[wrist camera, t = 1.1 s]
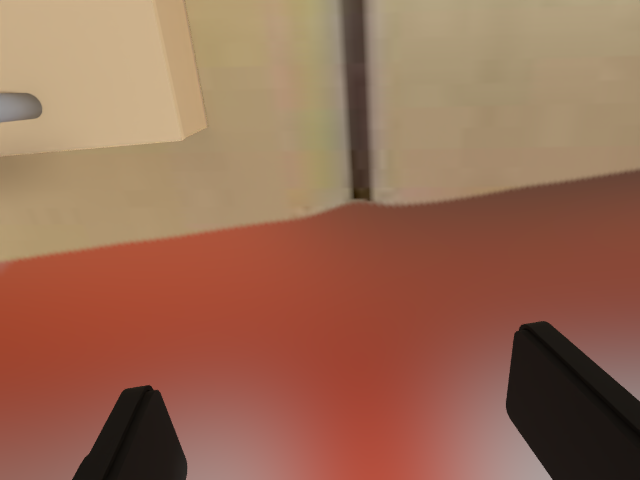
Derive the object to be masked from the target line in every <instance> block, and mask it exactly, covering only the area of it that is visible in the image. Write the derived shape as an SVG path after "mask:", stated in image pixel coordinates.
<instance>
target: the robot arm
mask: <svg viewBox="0 0 640 480" xmlns="http://www.w3.org/2000/svg"><path fill="white" fill-rule="evenodd" d="M506 409H507V413H508V415H509V417H510V419H511V421H512V422H513V424H514V425H515V426H516V428H517V429H518V431H519V432H520V434H521V435H522V437H523V438H524V439H525V441H526V442H527V444H528V445H529V447H530V448H531V449H532V451H533V452H534V454H535V455H536V457H537V458H538V459H539V461H540V462H541V463H542V465H543V466H544V468H545V469H546V471H547V472H548V474H549V475H550V476H551V478H552V479H553V480H640V401H639V400H637V399H636V398H635V397H634V396H632V394H630V393H629V392H628V391H627V390H626V389H625V388H624V387H622V386H621V385H620V384H619V383H618V382H617V381H615V380H614V379H613V378H612V377H611V376H610V375H608V374H607V373H606V372H605V371H604V370H603V369H601V368H600V367H599V366H598V365H597V364H596V363H595V362H593V361H592V360H591V359H590V358H589V357H587V356H586V355H585V354H584V353H583V352H582V351H581V350H580V349H578V348H577V347H576V346H575V345H574V344H573V343H571V342H570V341H569V340H568V339H567V338H566V337H564V336H563V335H562V334H561V333H560V332H558V331H557V330H556V329H555V328H554V327H553V326H552V325H551V324H549V323H548V322H545V321H541V322H536V323H529V324H524V325H521V327H520V328H519V331H516V333H515V334H514V341H513V349H512V358H511V366H510V374H509V383H508V391H507V399H506ZM186 476H187V461H186V458H185V455H184V453H183V450H182V448H181V445H180V442H179V440H178V437H177V435H176V432H175V429H174V427H173V424H172V422H171V419H170V416H169V414H168V411H167V409H166V406H165V404H164V401H163V398H162V396H161V393H160V392H159V391H158V390H153V388H152V387H151V386H150V385H147V386H140V387H134V388H128V389H125V390H124V391H123V392H122V393H121V395H120V397H119V399H118V400H117V402H116V404H115V406H114V408H113V410H112V412H111V414H110V415H109V417H108V420H107V421H106V423H105V425H104V427H103V429H102V431H101V433H100V435H99V436H98V438H97V440H96V442H95V444H94V446H93V448H92V450H91V451H90V453H89V454H88V455H87V456H86V457H85V458H84V460H83V461H82V463H81V464H80V466H79V468H78V470H77V472H76V474H75V476H74V477H73V479H72V480H186Z"/></svg>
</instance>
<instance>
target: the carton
mask: <svg viewBox="0 0 640 480" xmlns="http://www.w3.org/2000/svg"><path fill="white" fill-rule="evenodd" d="M155 2H156V7H157V11H158V16H159V21H160V25H161V30H162V35H163V39H164V44H165V49H166V53H167V58H168V63H169V67H170V72H171V77H172V81H173V86H174V91H175V95H176V100H177V105H178V109H179V114H180V119H181V123H182V128H183V133H184V137H185V138H186V137H188V136H190V135H192V134H194V133H196V132H198V131H201V130H203V129H205V128H207V127H208V122H207V117H206V111H205V106H204V101H203V95H202V90H201V85H200V79H199V74H198V69H197V63H196V58H195V52H194V47H193V42H192V36H191V31H190V26H189V20H188V15H187V10H186V4H185V0H155Z"/></svg>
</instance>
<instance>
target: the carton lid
mask: <svg viewBox="0 0 640 480" xmlns="http://www.w3.org/2000/svg"><path fill="white" fill-rule="evenodd" d="M184 139H185V137H184V133H183V128H182V123H181V119H180V114H179V109H178V105H177V100H176V95H175V91H174V86H173V81H172V77H171V72H170V67H169V63H168V58H167V53H166V49H165V44H164V39H163V35H162V30H161V25H160V21H159V16H158V11H157V7H156V2H155V0H0V156H12V155H23V154H35V153H46V152H58V151H69V150H81V149H92V148H104V147H115V146H127V145H138V144H150V143H161V142H173V141H182V140H184Z"/></svg>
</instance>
